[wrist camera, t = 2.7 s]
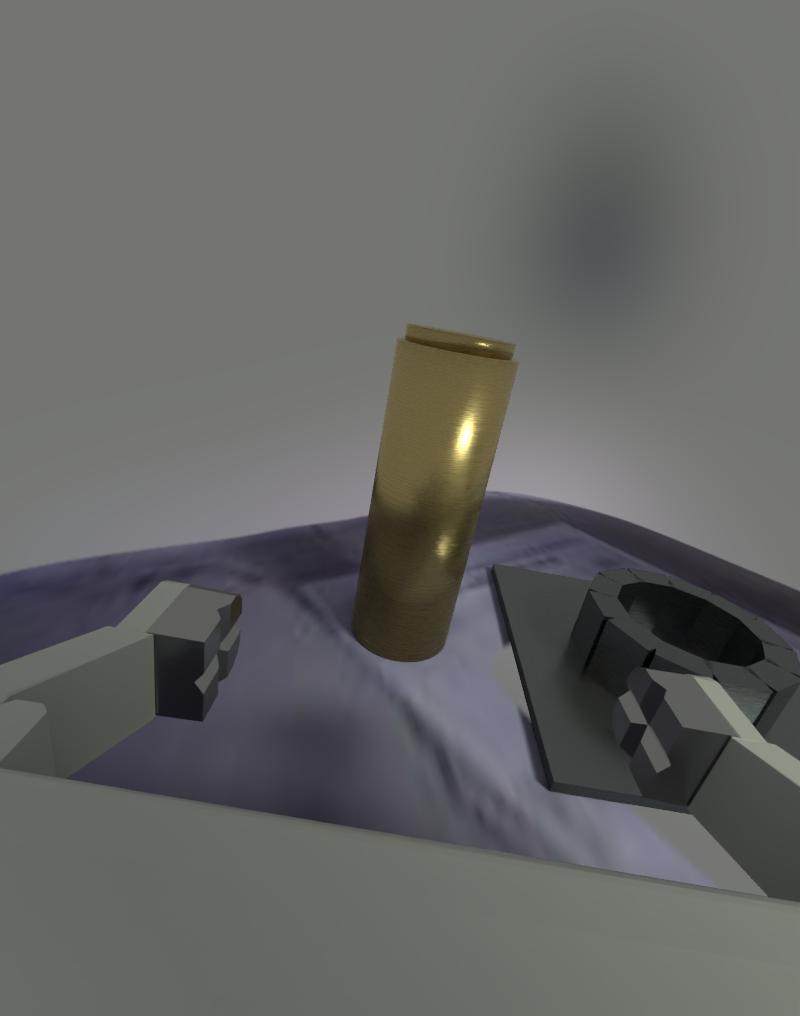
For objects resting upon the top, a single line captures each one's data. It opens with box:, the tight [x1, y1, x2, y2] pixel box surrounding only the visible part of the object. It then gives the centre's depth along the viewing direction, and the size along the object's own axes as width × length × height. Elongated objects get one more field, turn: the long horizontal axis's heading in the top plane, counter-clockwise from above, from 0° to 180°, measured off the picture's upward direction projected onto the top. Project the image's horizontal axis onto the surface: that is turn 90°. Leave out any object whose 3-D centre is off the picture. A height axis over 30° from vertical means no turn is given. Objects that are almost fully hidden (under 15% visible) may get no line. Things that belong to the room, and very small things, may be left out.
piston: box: [351, 324, 519, 662], centre depth 22 cm, size 5×5×15 cm
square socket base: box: [492, 564, 800, 814], centre depth 24 cm, size 16×16×4 cm
